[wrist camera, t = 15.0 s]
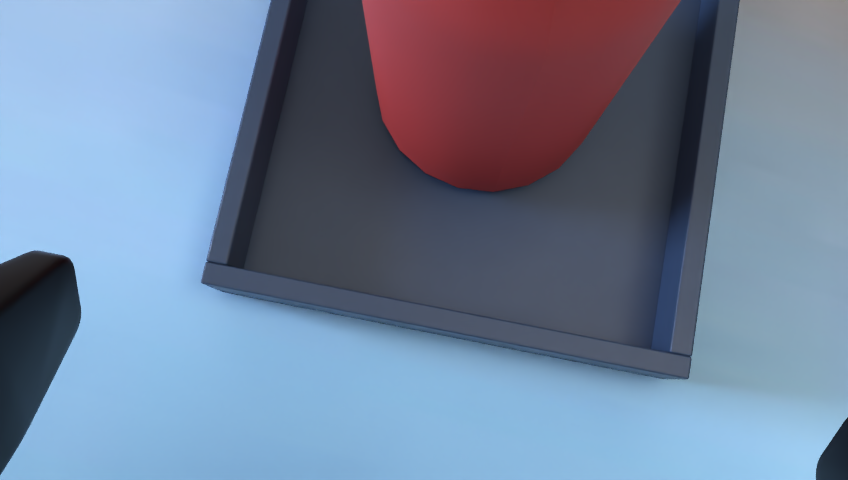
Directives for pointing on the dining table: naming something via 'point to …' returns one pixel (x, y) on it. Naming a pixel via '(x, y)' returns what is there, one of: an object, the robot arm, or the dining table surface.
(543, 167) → the beer can
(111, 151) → the dining table surface
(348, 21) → the tray
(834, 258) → the dining table surface
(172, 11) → the dining table surface
